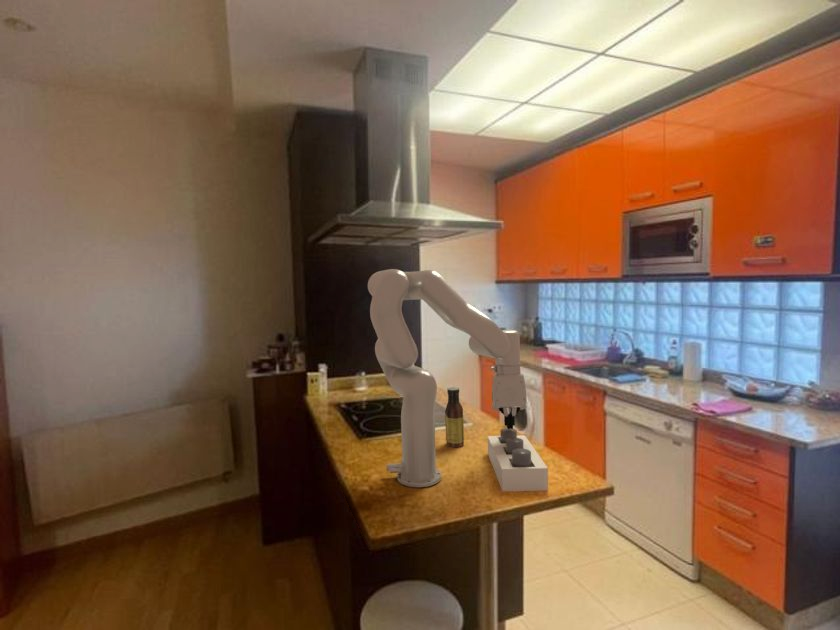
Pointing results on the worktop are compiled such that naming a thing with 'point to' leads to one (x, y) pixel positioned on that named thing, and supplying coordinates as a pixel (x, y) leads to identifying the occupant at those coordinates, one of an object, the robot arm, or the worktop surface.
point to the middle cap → (513, 444)
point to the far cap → (507, 434)
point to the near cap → (521, 458)
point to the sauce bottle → (454, 419)
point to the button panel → (517, 476)
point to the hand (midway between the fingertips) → (509, 427)
